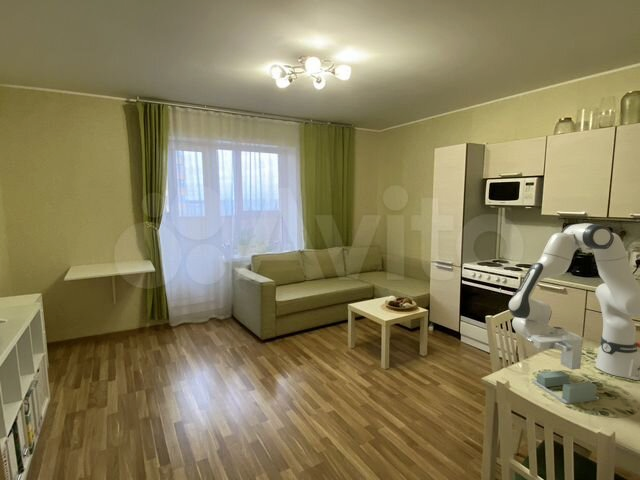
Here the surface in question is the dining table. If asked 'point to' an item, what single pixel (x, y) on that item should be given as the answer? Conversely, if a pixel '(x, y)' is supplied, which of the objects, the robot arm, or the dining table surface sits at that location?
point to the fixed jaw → (574, 392)
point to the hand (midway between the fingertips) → (573, 349)
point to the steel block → (571, 352)
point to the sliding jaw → (553, 378)
